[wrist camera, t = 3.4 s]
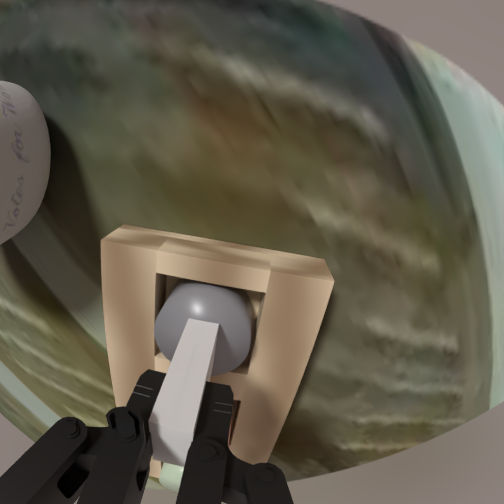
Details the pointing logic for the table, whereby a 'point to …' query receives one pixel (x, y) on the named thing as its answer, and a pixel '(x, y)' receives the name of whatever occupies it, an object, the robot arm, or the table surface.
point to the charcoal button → (207, 320)
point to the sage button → (171, 476)
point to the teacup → (21, 158)
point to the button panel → (262, 331)
